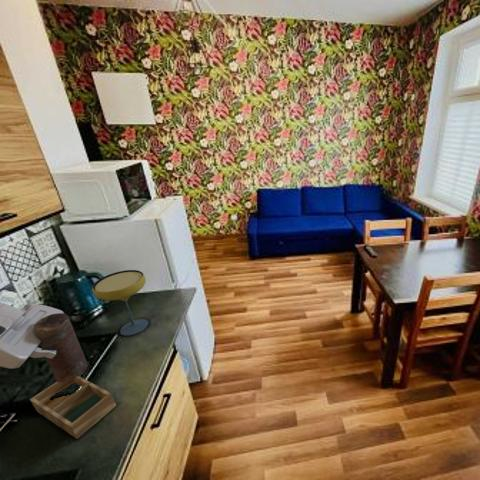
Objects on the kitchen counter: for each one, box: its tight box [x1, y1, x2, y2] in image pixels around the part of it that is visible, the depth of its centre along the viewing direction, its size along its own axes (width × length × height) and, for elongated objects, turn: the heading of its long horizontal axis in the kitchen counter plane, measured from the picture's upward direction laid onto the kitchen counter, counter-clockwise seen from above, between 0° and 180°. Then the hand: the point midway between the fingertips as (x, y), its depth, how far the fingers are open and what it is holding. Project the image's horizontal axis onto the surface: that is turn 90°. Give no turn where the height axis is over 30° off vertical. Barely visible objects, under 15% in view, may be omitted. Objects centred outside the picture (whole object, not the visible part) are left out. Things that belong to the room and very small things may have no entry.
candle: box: [34, 312, 88, 383], centre depth 77 cm, size 8×7×20 cm
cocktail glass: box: [91, 269, 149, 337], centre depth 116 cm, size 18×18×25 cm
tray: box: [29, 375, 117, 440], centre depth 85 cm, size 21×11×6 cm, turn 68°
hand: (63, 344), depth 77 cm, fingers closed on candle, 7 cm apart
